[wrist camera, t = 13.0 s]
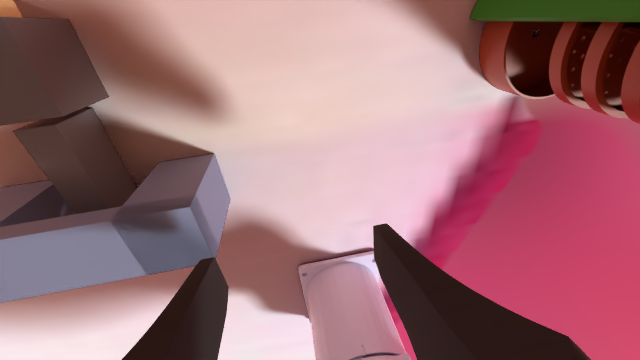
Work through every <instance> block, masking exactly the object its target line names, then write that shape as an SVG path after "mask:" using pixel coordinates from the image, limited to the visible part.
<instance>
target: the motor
mask: <svg viewBox="0 0 640 360" xmlns="http://www.w3.org/2000/svg"><path fill="white" fill-rule="evenodd" d="M470 18H471V19H474V20H476V21H486V24H485V27H484V30H483V33H482V37H481V42H480V50H479V58H480V66H481V69H482V72H483V74H484V76H485V78H486V79H487V81H488V82H489V83H490V84H491V85H492V86H494V87H496V88H497V89H500V90H503V91H506V92H509V93H513V94H516V95H519V96H522V97H526V98H530V99H543V98H548V97H552V96H557V97H558V98H559V99H560V100H562V101H563V102H565V103H568V104H571V105H575V106H578V107H582V108H590V109H593V110H595V111H597V112H599V113H603V114H606V115H610V116H613V117H617V118H630V119H631V120H632V121H634V122H636V123H638V124H640V0H478V1H477V3H476V5H475V7H474V9H473V11H472V14H471V16H470ZM535 28H539V33H538V34H537V36H536V37H534V38H533V37H532V32H533V30H534V29H535Z"/></svg>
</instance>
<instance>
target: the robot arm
mask: <svg viewBox="0 0 640 360" xmlns="http://www.w3.org/2000/svg"><path fill="white" fill-rule="evenodd" d="M373 231H374V251H370V252H365V253H360V254H355V255H350V256H344V257H339V258H334V259H329V260H324V261H319V262H314V263H309V264H303V265H301V266H299V268H298V271H299V276H300V280H301V285H302V289H303V294H304V298H305V303H306V307H307V312H308V316H309V321H310V323H311V325H312V333H313V341H314V349H315V357H316V360H411V357H410V355H409V354H408V353H406V352H405V349H404V347H403V344H402V342H401V339H400V337H399V334H398V332H397V329H396V327H395V324H394V322H393V319H392V317H391V314H390V312H389V309H388V307H387V304H386V302H385V300H384V297H383V295H382V292H381V290H380V287H379V273H380V276H381V279H382V281H383V283H384V285H385V287H386V289H387V291H388V294H389V296H390V298H391V300H392V302H393V304H394V306H395V308H396V310H397V312H398V314H399V316H400V318H401V320H402V322H403V324H404V327H405V329H406V331H407V334H408V336H409V339H410V341H411V344H412V346H413V349H414V352H415V354H416V357H417V360H591V359H590V358H589V357H588V356H587V355H586V354H585V353H584V352H583V351H582V350H581V349H580V348H579V347H578V346H577V345H576V344H575V343H574V342H573V341H572V340H571V339H570V338H569V337H568V336H565V335H563V334H561V333H558V332H556V331H554V330H552V329H549V328H547V327H545V326H542V325H540V324H538V323H535V322H533V321H531V320H529V319H526V318H524V317H522V316H520V315H518V314H516V313H514V312H512V311H510V310H508V309H506V308H504V307H502V306H500V305H498V304H497V303H494V302H493V301H491V300H489V299H488V298H486V297H484V296H482V295H480V294H479V293H477V292H475V291H473V290H472V289H470V288H468V287H467V286H465V285H464V284H462V283H460V282H459V281H457V280H456V279H454V278H453V277H451V276H450V275H448V274H447V273H446V272H444V271H443V270H441V269H440V268H439V267H437V266H436V265H435V264H433V263H432V262H431V261H429V260H428V259H427V258H426V257H424V256H423V255H422V254H421V253H419V252H418V251H417V250H416V249H415V248H413V247H412V246H411V245H410V244H409V243H408V242H406V241H405V240H404V239H403V238H402V237H401V236H400V235H399V234H398V233H396V232H395V231H394V230H393V229H392V228H391V227H390V226H389V225H388V224H381V225H376V226H373ZM227 302H228V285H227V283H226V281H225V279H224V277H223V274H222V272H221V270H220V268H219V266H218V264H217V261H216V259H215V257H212V258H207V259H202V260H200V261H199V262H198V264H197V265H196V267H195V268H194V269H193V271H192V272H191V274H190V275H189V276H188V278H187V279H186V281H185V282H184V283H183V285H182V286H181V288H180V289H179V290H178V292H177V293H176V294H175V296H174V297H173V299H172V300H171V301H170V303H169V304H168V305H167V307H166V308H165V309H164V311H163V312H162V313H161V314H160V316H159V317H158V318H157V319H156V321H155V322H154V323H153V324H152V326H151V327H150V328H149V329H148V331H147V332H146V333H145V334H144V335H143V337H142V338H141V339H140V340H139V341H138V342H137V343H136V345H135V346H134V347H133V348H132V349H131V350H130V351H129V352H128V353H127V354H126V356H125V357H124V358H123V359H122V360H217V359H218V353H219V348H220V343H221V338H222V333H223V328H224V323H225V318H226V312H227Z"/></svg>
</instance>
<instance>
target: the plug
mask: <svg viewBox="0 0 640 360" xmlns="http://www.w3.org/2000/svg"><path fill="white" fill-rule="evenodd" d="M107 97H109V96H108V94H107V92H106V90H105V88H104V86H103V84H102V82H101V80H100V78H99V77H98V75H97V73H96V71H95V69H94V67H93V65H92V63H91V61H90V59H89V57H88V55H87V53H86V51H85V49H84V48H83V46H82V44H81V42H80V40H79V38H78V36H77V34H76V32H75V30H74V28H73V26H72V24H71V22H70V20H69V19H51V18H23V16H22V15H21V13H20V11H19V9H18V8H17V6H16V4H15V3H14V1H13V0H0V125H6V124H13V123H20V122H27V121H34V120H39V121H36V122H34V123H31V124H29V125H27V126H24V127H22V128H19V129H17V130H14V131H13V132H14V134H15V135H16V136H17V137H18V139H19V140H20V141H21V143H22V144H23V145H24V147H25V148H26V149H27V151H28V152H29V153H30V155H31V156H32V157H33V159H34V160H35V161H36V163H37V164H38V165H39V167H40V168H41V169H42V171H43V172H44V173H45V175H46V176H47V177H48V179H49V180H50V181H51V182H52V184H53V185H54V186H55V188H56V189H57V190H58V192H59V193H60V194H61V196H62V197H63V198H64V200H65V201H66V202H67V204H68V205H69V206H70V208H71V209H72V210H73V212H74V213H75V214H80V213H86V212H92V211H98V210H103V209H109V208H115V207H121V206H123V205H124V203H125V202H126V201H127V200H128V199H129V197H130V196H131V195H132V194H133V193H134V191H135V190H136V189H137V186H136V184H135V183H134V181H133V179H132V177H131V175H130V174H129V172H128V170H127V168H126V167H125V165H124V163H123V161H122V159H121V158H120V156H119V154H118V152H117V150H116V149H115V147H114V145H113V143H112V142H111V140H110V138H109V136H108V134H107V133H106V131H105V129H104V127H103V126H102V124H101V122H100V120H99V118H98V117H97V115H96V113H95V111H94V109H93V108H89V109H82V108H84V107H86V106H89V105H91V104H93V103H96V102H98V101H100V100H103V99H105V98H107ZM79 109H82V110H79Z"/></svg>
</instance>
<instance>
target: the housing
mask: <svg viewBox="0 0 640 360" xmlns="http://www.w3.org/2000/svg"><path fill="white" fill-rule="evenodd" d="M229 203H230V197H229V194H228V191H227V188H226V185H225V182H224V180H223V177H222V174H221V171H220V168H219V165H218V162H217V160H216V157H215V154H208V155H202V156H196V157H190V158H183V159H177V160H171V161H165V162H159V163H158V164H157V165H156V167H155V168H154V169H153V170H152V171H151V172H150V174H149V175H148V176H147V177H146V178H145V180H144V181H143V182H142V183H141V184H140V186H139V187H138V188H137V189H136V190H135V191H134V193H133V194H132V195H131V196H130V197H129V199H128V200H127V201H126V202H125V203H124V205H123V206H121V207H115V208H109V209H103V210H98V211H92V212H86V213H80V214H75V213H74V212H73V210H72V209H71V208H70V206H69V205H68V204H67V202H66V201H65V200H64V198H63V197H62V196H61V194H60V193H59V192H58V190H57V189H56V188H55V186H54V185H53V184H52V182H51V181H50V180H45V181H39V182H33V183H27V184H20V185H14V186H8V187H1V188H0V303H3V302H8V301H13V300H19V299H24V298H29V297H34V296H40V295H45V294H50V293H56V292H61V291H66V290H71V289H77V288H82V287H87V286H92V285H98V284H103V283H108V282H113V281H119V280H124V279H129V278H134V277H140V276H145V275H150V274H156V273H161V272H166V271H171V270H177V269H182V268H187V267H192V266H196V265H197V264H198V262H199V261H200V260H202V259H207V258H212V257H215V259H216V256H217V252H218V248H219V244H220V240H221V236H222V232H223V228H224V224H225V220H226V216H227V212H228V207H229Z"/></svg>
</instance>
